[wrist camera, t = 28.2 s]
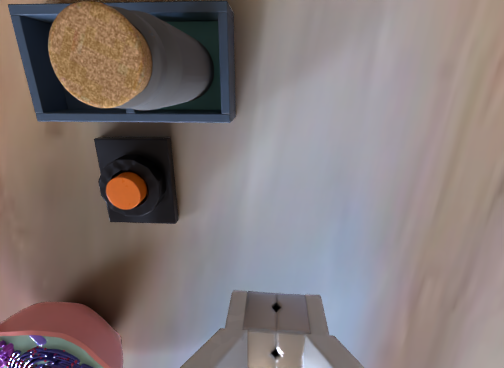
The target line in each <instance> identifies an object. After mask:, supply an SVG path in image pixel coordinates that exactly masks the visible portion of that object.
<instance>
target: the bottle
mask: <svg viewBox="0 0 504 368" xmlns="http://www.w3.org/2000/svg"><path fill="white" fill-rule="evenodd" d="M48 51H49V57H50V61H51V64H52V67H53V69H54V72H55V74H56V76H57V77H58V79H59V81H60V82H61V84H62V85H63V86H64V87H65V89H66V90H67V91H68V92H70V93H71V94H72V95H73V96H74V97H76V98H77V99H78V100H80V101H82V102H83V103H86V104H88V105H91V106H94V107H99V108H113V107H115V108H132V109H136V110H153V109H159V108H163V107H168V106H172V105H176V104H180V103H184V102H188V101H192V100H195V99H197V98H199V97H201V96H202V95H204V94H205V93H206V92H207V91H208V89H209V88H210V86H211V84H212V81H213V78H214V65H213V60H212V58H211V56H210V54H209V52H208V50H207V49H206V48H205V47H204V46H203V45H202V44H201V43H200V42H199V41H197V40H196V39H194V38H193V37H191V36H189V35H188V34H186V33H184V32H182V31H180V30H179V29H177V28H175V27H173V26H172V25H170V24H168V23H166V22H164V21H162V20H160V19H159V18H157V17H155V16H153V15H151V14H148V13H145V12H142V11H135V10H127V9H124V8H120V7H116V6H108V5H106V4H103V3H100V2H96V1H80V2H76V3H73V4H71V5H69V6H67V7H66V8H64V9H63V10H62V11H61V12H60V13H59V14H58V15H57V17H56V18H55V20H54V21H53V24H52V26H51V29H50V32H49V39H48Z"/></svg>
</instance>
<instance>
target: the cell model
mask: <svg viewBox="0 0 504 368" xmlns="http://www.w3.org/2000/svg"><path fill="white" fill-rule="evenodd" d="M0 368H123V351H122V339H121V336H120V334H119V333H118V332H117V331H116V330H115V329H114V328H112V327H111V326H110V325H109V324H108V323H107V322H106V321H105V319H104V318H103V317H101V316H100V315H99V314H98V313H96V312H95V311H94V310H92V309H91V308H90V307H88V306H86V305H83V304H80V303H69V302H51V301H50V302H41V303H37V304H34V305H31V306H29V307H27V308H24V309H22V310H21V311H19V312H17V313H15V314H14V315H12V316H10V317H9V318H7V319H6V320H4V321H2V322H0Z"/></svg>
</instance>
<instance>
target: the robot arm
mask: <svg viewBox="0 0 504 368" xmlns="http://www.w3.org/2000/svg"><path fill="white" fill-rule="evenodd" d="M180 368H364V367H363V366H362V365H361V364H360V362H359V361H358V360H357V359H356V358H355V357H354V356H353V355H352V354H351V353H350V352H349V351H348V350H347V349H346V348H345V347H344V346H343V345H342V344H341V343H340V341H339V340H338V339H337V338H336V337H335V336H331V335H329V331H328V327H327V322H326V318H325V313H324V308H323V304H322V299H321V296H320V295H300V294H279V293H265V292H252V291H248V292H247V291H236V290H233V292H232V295H231V300H230V305H229V310H228V315H227V320H226V325H225V329H223V328H220V329H219V330H218V331H217V332H216V333H215V334H214V335H213V336H212V337H211V338H210V339H209V340H208V341H207V342H206V343H205V344H204V345H203V346H202V347H201V348H200V349H199V350H198V351H197V352H196V353H195V354H194V355H193V356H191V357H190V358H189V359H188V360H187V361H186V362H185V363H184V364H183V365H182V366H181V367H180Z"/></svg>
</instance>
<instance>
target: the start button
mask: <svg viewBox="0 0 504 368" xmlns="http://www.w3.org/2000/svg"><path fill="white" fill-rule="evenodd" d="M106 194H107V197H108V199H109V201H110V202H111V203H112V204H113V205H115V206H116V207H118V208H120V209H132V208H134V207H136V206H137V205H138V204H139V203H140V202H141V201H142V200H143V199H144V198H145V197H146V194H147V186H146V183H145V181H144V180H143V179H142V178H141V177H140V176H139V175H137V174H135V173H132V172H124V173H121V174H119V175H118V176H116V177H114V178H113V179H111V180H110V181H109V182H108V184H107V187H106Z"/></svg>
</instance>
